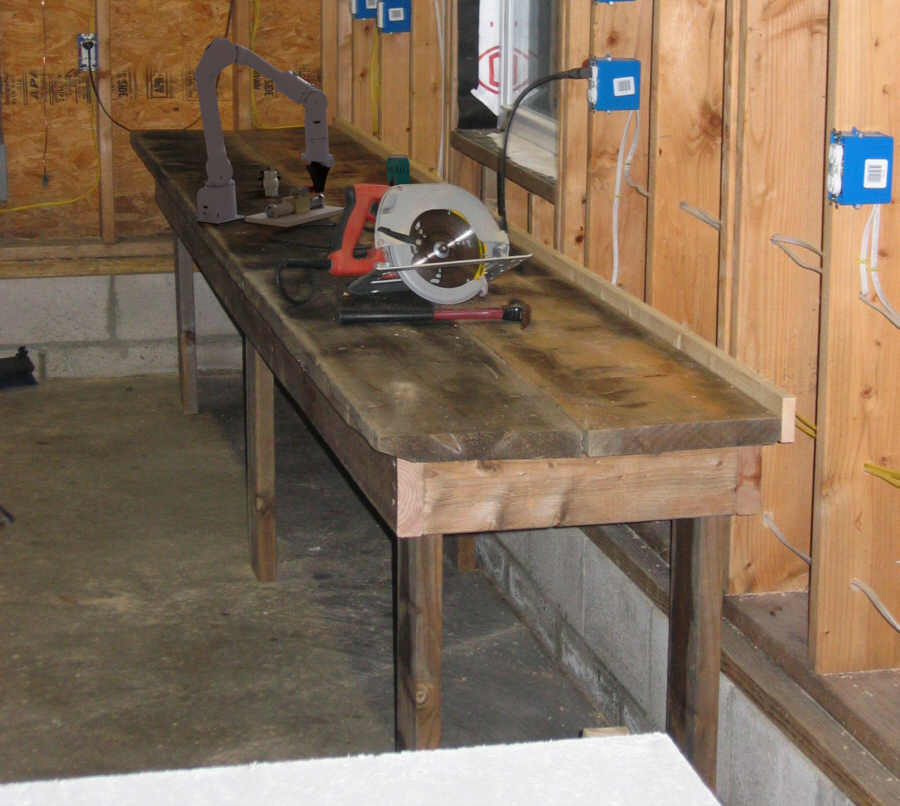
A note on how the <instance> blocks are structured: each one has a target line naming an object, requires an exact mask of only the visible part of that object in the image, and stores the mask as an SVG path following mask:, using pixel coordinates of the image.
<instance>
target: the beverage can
mask: <svg viewBox="0 0 900 806" xmlns="http://www.w3.org/2000/svg"><path fill="white" fill-rule="evenodd" d="M386 158H387V159H386V164H385V165H386V167H385V168H386V169H385V170H386V186H387V185H389V186H393V185H399V184H410V185H411V172H410V171H411V168H410V165H411V164H410V159H409V156H408V154H407V155H406V154H390V155H387V156H386Z"/></svg>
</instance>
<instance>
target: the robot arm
mask: <svg viewBox="0 0 900 806" xmlns="http://www.w3.org/2000/svg"><path fill="white" fill-rule="evenodd" d="M233 63H234V64H235V66H247V67H250V68H251V69H253V70H254V71H256V72H257V73H259V74H261V75H263V76H264V77H265V78H268V80H270V81H272V82H274V84H275V88H276V89H275V90H276V91H277V92H278V93H280V94H282V95H284V96H285V97H287V98H288V99H290V100H291V101H293V102H294V103H296V104H298V105H302V107H303V108H304V120H303V121H304V122H303V123H304V136H305V138H304V139H305V140H304V141H305V152H301V153H300V157H301V161H302V162H309V163H310V164H306V165H305V169H306V171H307V172H308V175H309V176H310V179H311V182H312V184H313V186H314V190H315V194H319V193H320V194H322V193H324V192H325V189H326V188H325V187H326V183H327V182H326V181H327V178H328V174H329V172H330V171H331V169H332V168H333V167H336V160H335V158H334V155H333V154H331V153H330V148H329V130H328V129H329V128H328V123H329V122H328V118H327V115H328V113H327V109H328V106H329V101H328V98H327V96H326V94H325V93H324V92H323V91H321V90H320V89H319V88H318V87H316V86H315V84H314V83H312V82H310V83H309V82H308V81H306V79H303V78H302V77H300V76H299V73H298V72H297V71H296V70H293V71H291V70H289V69H288V70H283V71H281V70H279V69H278V68H277V67H276V66H273V64H271V63H269V62H268V61H266V60H265V59H264V58H262V57H261V56H259V55H258V54H256V53H255V52H254V51H252V50H251V49H250V48H247V47H246V46H243V45H241V44H240V43H237V42H234V43H233V41H232V40H231V39H229V38H227V37H225V36H220V37H219V36H218V37H215V38H214V39H213V40H211V41H210V42H209V44H208V45H206V47H205V48H204V51H203V54H202V55H201V58H200V60H199V61H198V64H197V66H196V68H195V71H194V80H195V85H196V92H197V97H198V103H199V108H200V109H199V110H200V116H201V122H202V127H203V134H204V140H205V141H204V142H205V145H206V153H207V161H206V163H205V171H206V174H207V178H208V179H207V180H205V182H204V183H205V184H204V187H201V188H199V190H197V194H196V206H197V216H198V217H197V218H196V219H195V221H197V222H201V223H209V224H217V225H218V224H222V223H226V222H227V223H229V222H233V221H237V220H240V219H245V217H246V216H245V215H242V214H241V215H240V214H238V213H237V212H238V211H237V210H238V208H237V207H238V206H237V197H236V194H237V193H236V184H235V183H236V181H235V180H234V179H232V178H233V175H234V169H233V166H232V164H231V161H230V159H229V158H228V157H227V152H226V147H225V140H224V134H223V127H222V121H221V115H220V108H219V103H218V96H217V91H216V84H215V83H216V82H215V80H216V79H217V77H218V76H219V75H220V73H221V72H222V70H224V69H226V68H227V67H229V66H230V65H232V64H233Z"/></svg>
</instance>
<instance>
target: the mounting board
mask: <svg viewBox="0 0 900 806" xmlns="http://www.w3.org/2000/svg"><path fill="white" fill-rule="evenodd" d="M344 208H345V207H340V206H335V205H334V206H333V205H325V207H322V208H321V207H318V208H314V209H310V212H306V213H302V214H298V215H295V214H288V215H283V216H279V217H277V218H275V219H274V218H268V217H267V216H266V213H265V211H264V212H261V213H255V214H252V215H247V216H245V218H244V220H245V222H247V223H254V224H261V225H268V226H276V227H284V228H288V227H293V226H297V225H300V224H305V223H310V222H313V221H317V220H322V219H327V218H331V217H335V216H338V215H342V214H341V213H342V212H343V209H344Z"/></svg>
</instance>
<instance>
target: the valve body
mask: <svg viewBox="0 0 900 806" xmlns="http://www.w3.org/2000/svg"><path fill="white" fill-rule="evenodd" d="M326 202H327V200H326V197H325V195H323V194H322V193H315V194H314V195H312V196H306V195H298V196H291V195H289V196H284V197H282V198H281V203H276V204H274V203H270V204H267V205H266V206H265V208H264V212H265V213H266V216H267V217H268V218H274V219H275V218H277V217H279V216H283V215H288V214H295V215H298V214H302V213H306V212H310V209H314V208H318V207H321V208H322V207H325V205H326V204H327V203H326ZM326 206H327V205H326Z"/></svg>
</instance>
